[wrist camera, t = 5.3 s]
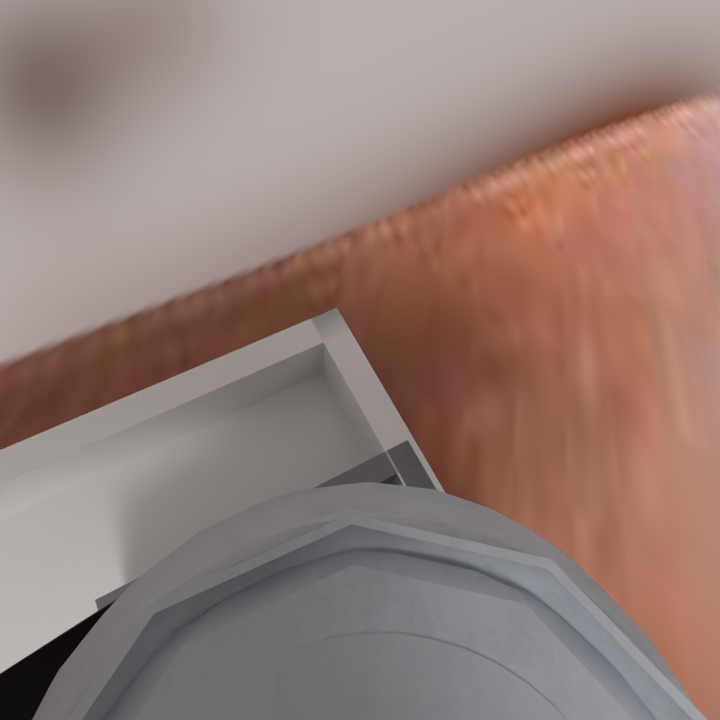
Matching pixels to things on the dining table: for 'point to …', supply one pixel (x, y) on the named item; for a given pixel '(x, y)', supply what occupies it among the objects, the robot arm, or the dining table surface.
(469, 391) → the dining table surface
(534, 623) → the beer can
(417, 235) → the dining table surface
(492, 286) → the dining table surface
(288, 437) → the shallow light grey tray
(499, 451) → the dining table surface
